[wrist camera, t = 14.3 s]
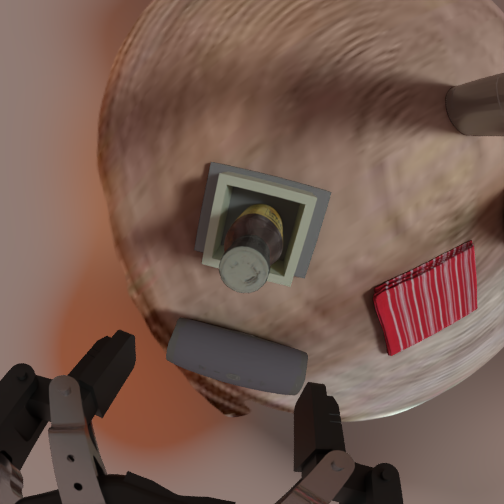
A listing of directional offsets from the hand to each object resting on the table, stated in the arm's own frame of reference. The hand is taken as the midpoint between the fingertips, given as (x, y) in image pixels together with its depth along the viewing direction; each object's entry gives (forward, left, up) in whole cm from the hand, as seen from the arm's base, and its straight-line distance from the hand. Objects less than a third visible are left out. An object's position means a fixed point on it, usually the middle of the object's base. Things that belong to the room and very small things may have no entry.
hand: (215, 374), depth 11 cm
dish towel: (-35, +6, -33) cm, 49 cm away
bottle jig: (0, 0, -32) cm, 32 cm away
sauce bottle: (0, 0, -31) cm, 31 cm away
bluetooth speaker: (-2, +23, -32) cm, 40 cm away
